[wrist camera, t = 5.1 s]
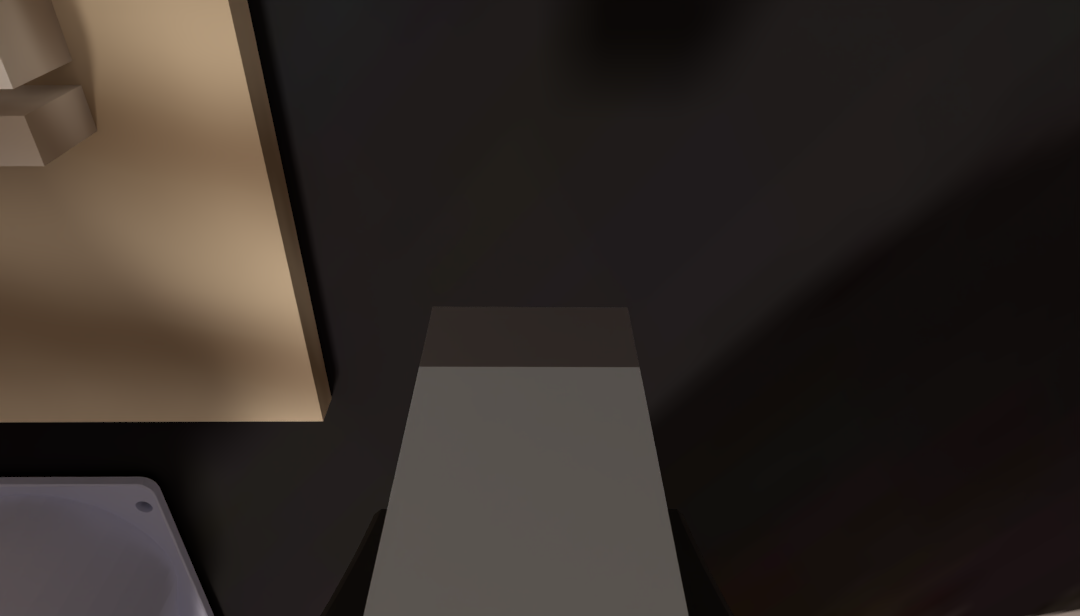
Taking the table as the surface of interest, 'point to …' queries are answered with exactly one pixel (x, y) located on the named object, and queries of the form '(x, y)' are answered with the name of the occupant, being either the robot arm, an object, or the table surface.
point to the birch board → (146, 221)
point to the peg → (527, 474)
